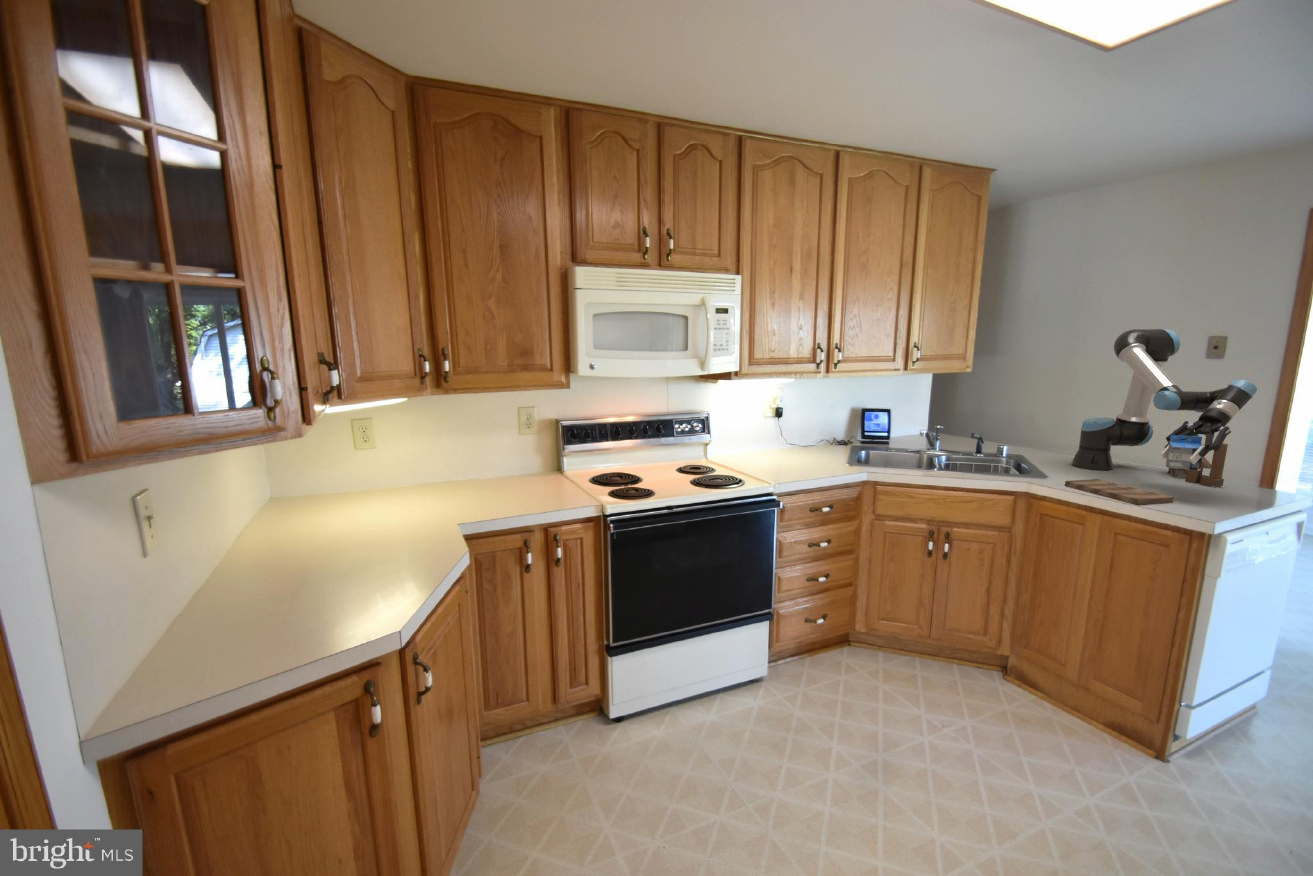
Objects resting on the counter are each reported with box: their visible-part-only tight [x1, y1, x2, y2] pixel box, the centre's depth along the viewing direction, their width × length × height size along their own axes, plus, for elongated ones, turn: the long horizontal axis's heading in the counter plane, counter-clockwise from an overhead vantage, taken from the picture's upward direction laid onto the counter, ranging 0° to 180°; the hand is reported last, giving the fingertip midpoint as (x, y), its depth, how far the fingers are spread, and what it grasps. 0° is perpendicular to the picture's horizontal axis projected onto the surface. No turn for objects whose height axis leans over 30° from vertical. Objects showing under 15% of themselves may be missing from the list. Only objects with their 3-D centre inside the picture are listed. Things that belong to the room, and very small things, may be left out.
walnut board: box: [1064, 478, 1175, 506], centre depth 206 cm, size 28×16×2 cm, turn 12°
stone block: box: [1167, 429, 1200, 480], centre depth 234 cm, size 13×7×20 cm, turn 153°
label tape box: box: [1165, 435, 1203, 471], centre depth 197 cm, size 9×4×12 cm, turn 60°
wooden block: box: [1185, 442, 1229, 488], centre depth 219 cm, size 4×11×18 cm, turn 16°
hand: (1177, 458), depth 197 cm, fingers closed on label tape box, 8 cm apart
